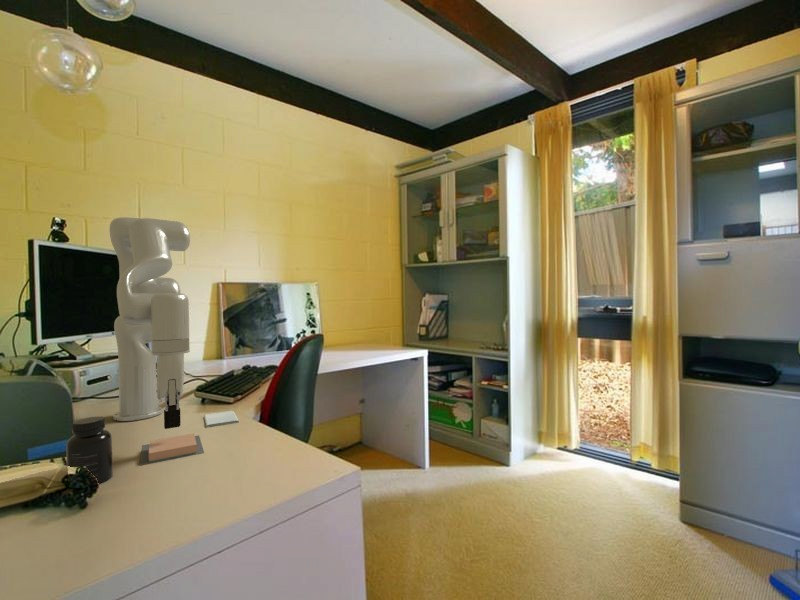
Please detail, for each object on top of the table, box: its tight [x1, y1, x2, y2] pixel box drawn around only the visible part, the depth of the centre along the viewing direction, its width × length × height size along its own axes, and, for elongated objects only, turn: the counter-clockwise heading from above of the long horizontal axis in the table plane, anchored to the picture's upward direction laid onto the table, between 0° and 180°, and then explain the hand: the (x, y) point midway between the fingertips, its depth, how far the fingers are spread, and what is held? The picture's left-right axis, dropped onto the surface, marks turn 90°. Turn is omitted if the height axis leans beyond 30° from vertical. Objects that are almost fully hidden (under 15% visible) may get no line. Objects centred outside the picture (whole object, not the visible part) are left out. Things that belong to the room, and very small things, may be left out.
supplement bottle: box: [65, 416, 114, 485], centre depth 74 cm, size 7×7×12 cm
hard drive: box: [203, 410, 240, 428], centre depth 113 cm, size 2×8×12 cm
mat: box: [139, 434, 205, 467], centre depth 90 cm, size 14×12×1 cm
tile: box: [148, 432, 197, 462], centre depth 88 cm, size 2×9×9 cm
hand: (172, 426), depth 90 cm, fingers closed
